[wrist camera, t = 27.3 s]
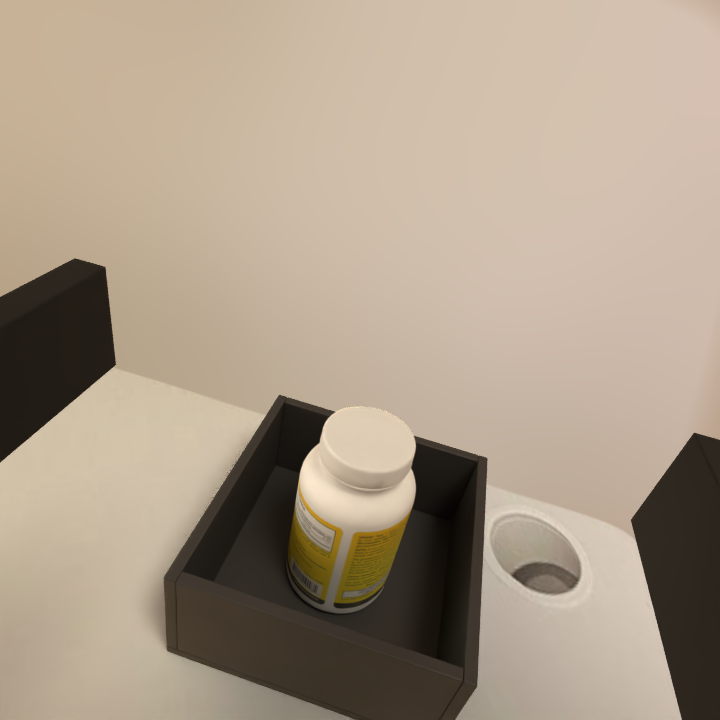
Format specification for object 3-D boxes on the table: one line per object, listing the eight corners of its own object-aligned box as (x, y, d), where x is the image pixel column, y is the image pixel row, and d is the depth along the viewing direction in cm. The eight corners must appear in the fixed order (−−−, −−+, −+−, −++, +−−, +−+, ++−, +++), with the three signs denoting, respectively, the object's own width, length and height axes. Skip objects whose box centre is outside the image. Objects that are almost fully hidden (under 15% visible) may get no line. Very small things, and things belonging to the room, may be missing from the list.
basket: (458, 522, 37) (487, 457, 33) (436, 748, 25) (477, 686, 22) (270, 462, 38) (279, 394, 35) (166, 651, 27) (162, 577, 23)
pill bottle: (390, 538, 34) (434, 411, 28) (379, 629, 29) (431, 499, 23) (298, 515, 34) (321, 384, 28) (271, 603, 29) (293, 465, 23)
